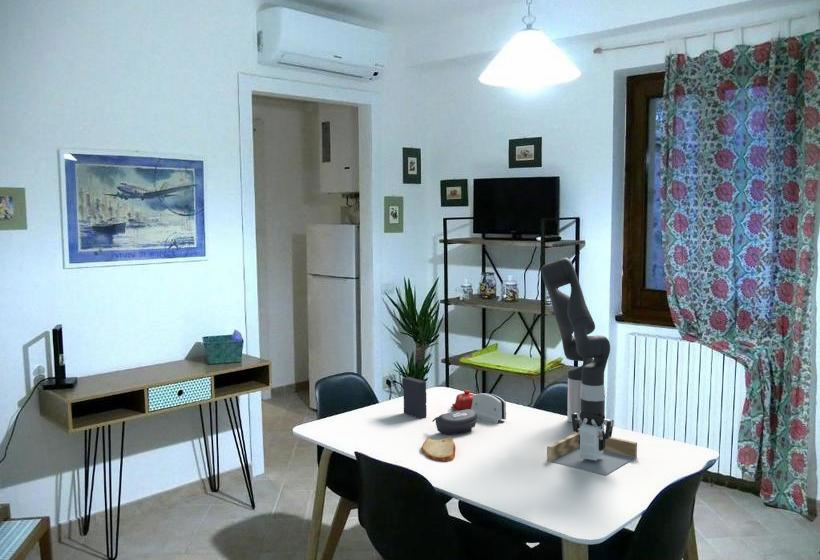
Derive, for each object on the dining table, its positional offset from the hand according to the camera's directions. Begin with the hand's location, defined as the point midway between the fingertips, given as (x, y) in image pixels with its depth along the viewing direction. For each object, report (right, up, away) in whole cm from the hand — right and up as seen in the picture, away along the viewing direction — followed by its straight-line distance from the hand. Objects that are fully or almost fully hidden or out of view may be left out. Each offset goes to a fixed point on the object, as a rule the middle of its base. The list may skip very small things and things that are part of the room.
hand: (591, 447), depth 224 cm
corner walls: (+1, -4, +2) cm, 5 cm away
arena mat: (+1, -4, +1) cm, 5 cm away
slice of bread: (-48, -5, +11) cm, 50 cm away
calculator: (-57, -1, +55) cm, 79 cm away
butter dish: (-35, 0, +64) cm, 73 cm away
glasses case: (-42, -2, +33) cm, 54 cm away
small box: (0, -3, 0) cm, 3 cm away
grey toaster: (-28, -1, +51) cm, 58 cm away
